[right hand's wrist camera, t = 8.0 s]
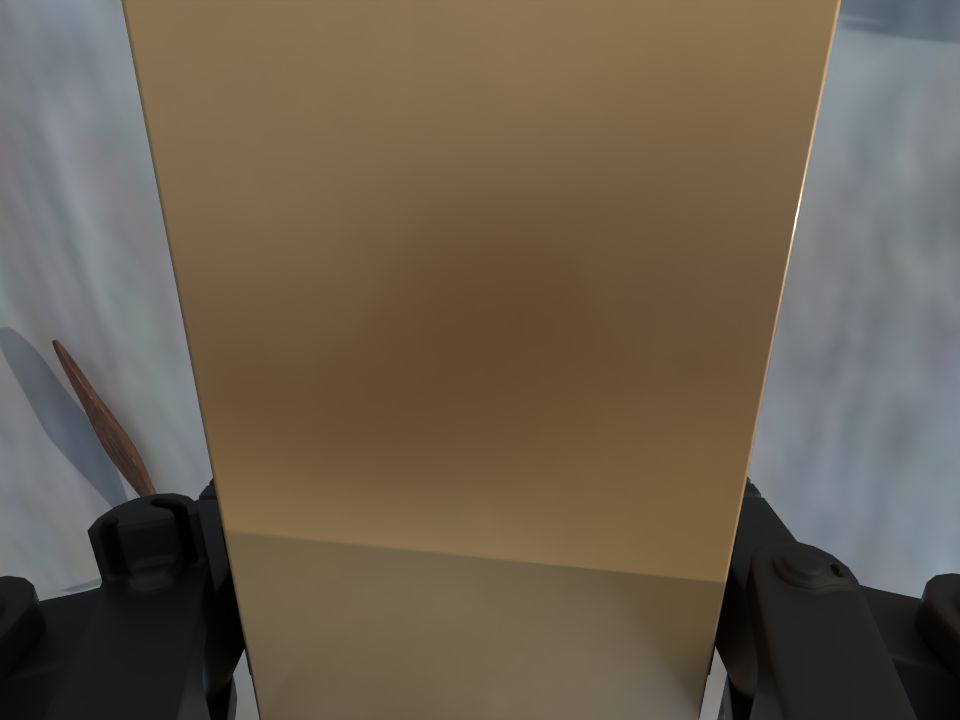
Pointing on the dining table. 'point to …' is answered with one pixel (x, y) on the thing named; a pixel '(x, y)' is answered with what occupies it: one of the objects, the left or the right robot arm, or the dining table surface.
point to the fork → (107, 427)
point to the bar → (480, 330)
